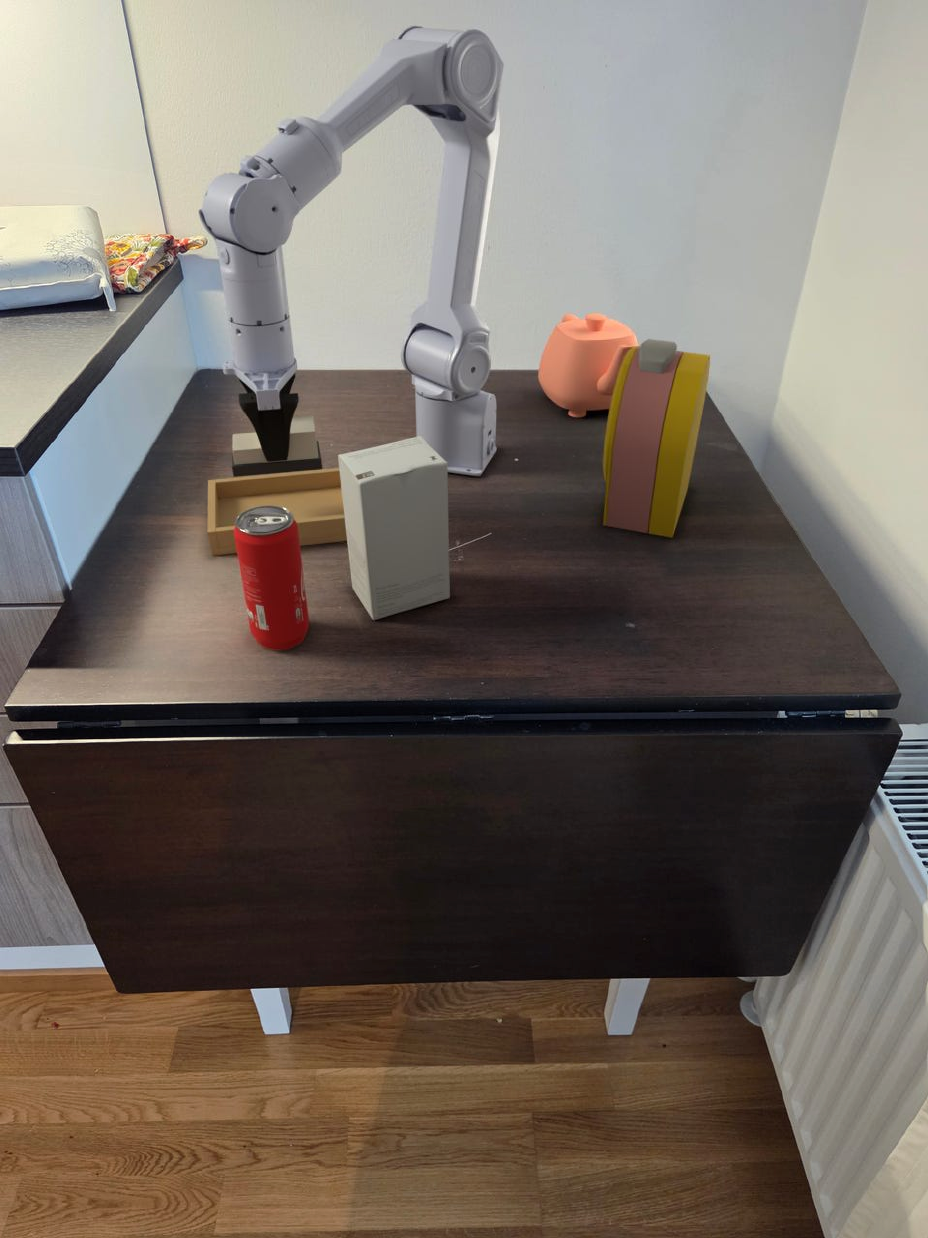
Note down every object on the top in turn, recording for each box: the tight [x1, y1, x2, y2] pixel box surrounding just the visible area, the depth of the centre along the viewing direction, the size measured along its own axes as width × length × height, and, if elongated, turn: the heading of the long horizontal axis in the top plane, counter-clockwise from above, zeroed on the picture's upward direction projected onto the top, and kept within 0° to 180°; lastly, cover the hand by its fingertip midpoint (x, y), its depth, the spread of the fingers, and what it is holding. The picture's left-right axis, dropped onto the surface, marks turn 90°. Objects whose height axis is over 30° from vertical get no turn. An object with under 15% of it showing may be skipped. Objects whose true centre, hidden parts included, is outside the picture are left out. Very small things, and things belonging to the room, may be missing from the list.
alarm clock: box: [602, 338, 711, 538], centre depth 93 cm, size 15×8×18 cm, turn 160°
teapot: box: [537, 312, 639, 418], centre depth 118 cm, size 13×20×12 cm, turn 18°
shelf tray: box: [207, 467, 347, 557], centre depth 94 cm, size 16×12×3 cm
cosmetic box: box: [337, 436, 451, 621], centre depth 79 cm, size 8×6×15 cm
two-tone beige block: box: [231, 414, 323, 478], centre depth 90 cm, size 9×5×4 cm, turn 102°
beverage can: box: [234, 506, 310, 652], centre depth 75 cm, size 5×5×12 cm
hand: (276, 449), depth 90 cm, fingers closed on two-tone beige block, 4 cm apart
